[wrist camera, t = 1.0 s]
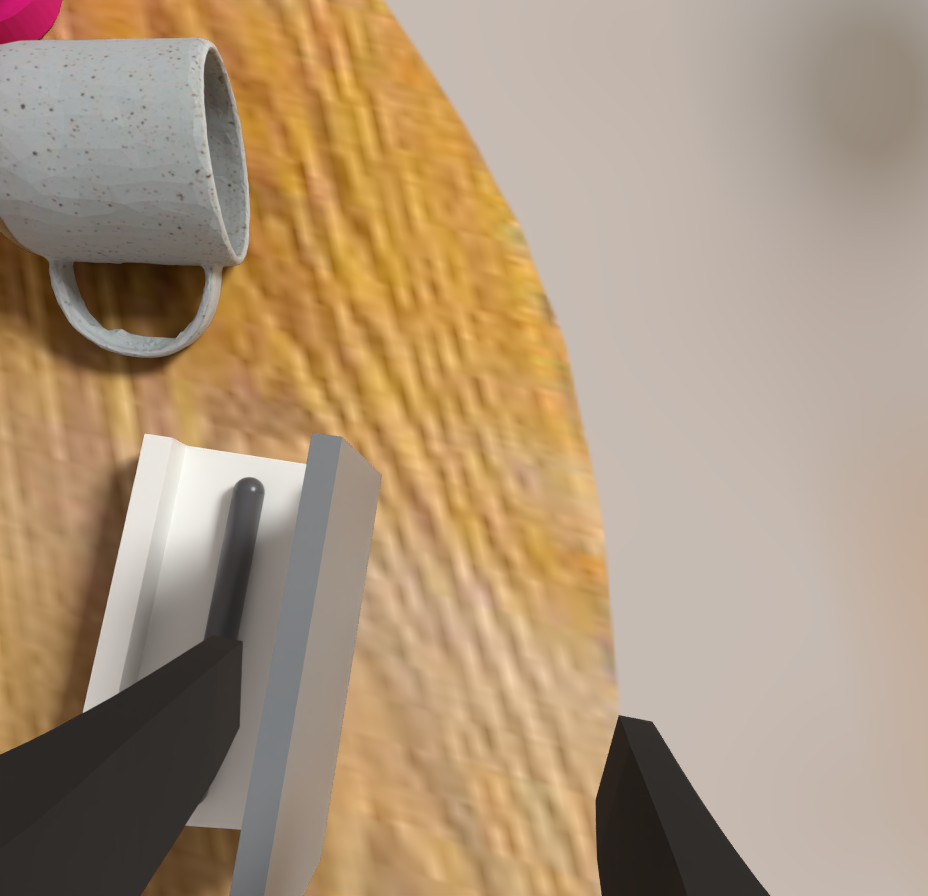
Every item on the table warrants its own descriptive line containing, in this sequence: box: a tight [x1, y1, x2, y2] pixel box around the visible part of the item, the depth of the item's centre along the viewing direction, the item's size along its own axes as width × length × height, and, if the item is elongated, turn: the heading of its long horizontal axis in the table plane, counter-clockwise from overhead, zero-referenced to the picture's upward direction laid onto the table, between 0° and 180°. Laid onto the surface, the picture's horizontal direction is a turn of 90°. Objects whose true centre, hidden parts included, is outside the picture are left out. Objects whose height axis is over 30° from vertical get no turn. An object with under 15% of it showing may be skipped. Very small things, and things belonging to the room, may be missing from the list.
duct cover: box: [229, 433, 382, 896], centre depth 19 cm, size 14×8×1 cm
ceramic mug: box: [0, 37, 250, 358], centre depth 23 cm, size 11×8×8 cm
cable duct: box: [83, 434, 306, 830], centre depth 24 cm, size 14×8×2 cm, turn 172°
